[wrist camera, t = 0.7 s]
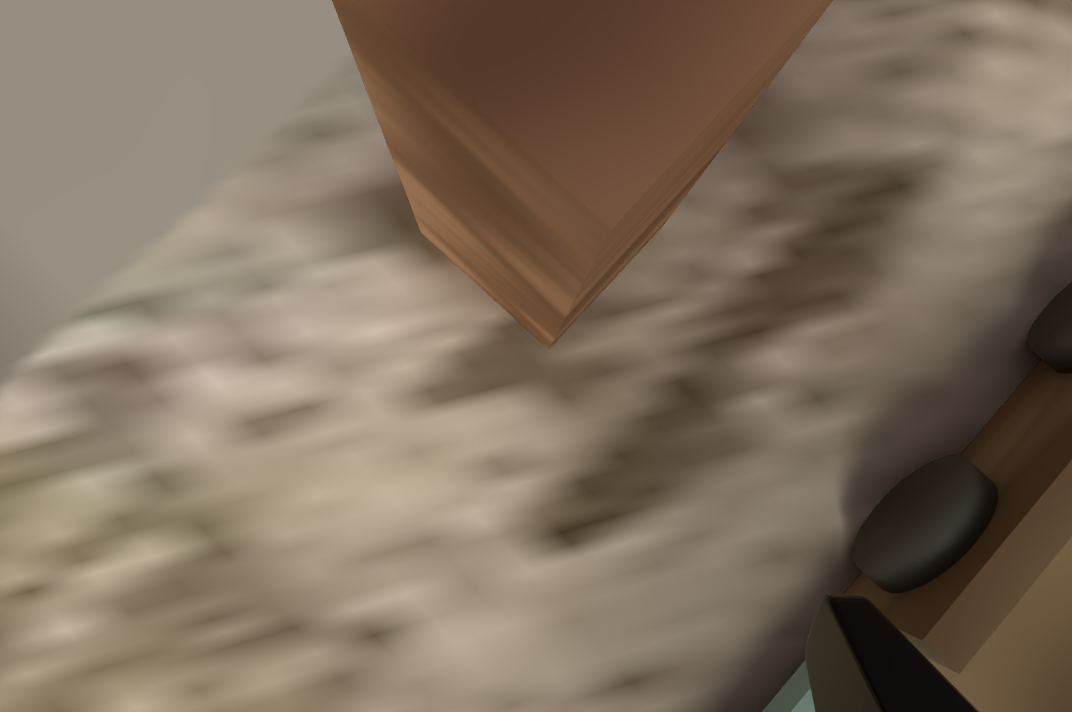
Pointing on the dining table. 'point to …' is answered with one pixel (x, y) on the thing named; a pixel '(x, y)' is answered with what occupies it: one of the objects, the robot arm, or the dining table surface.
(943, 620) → the cart
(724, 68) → the brown square pillar
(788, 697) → the tailgate
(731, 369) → the dining table surface
